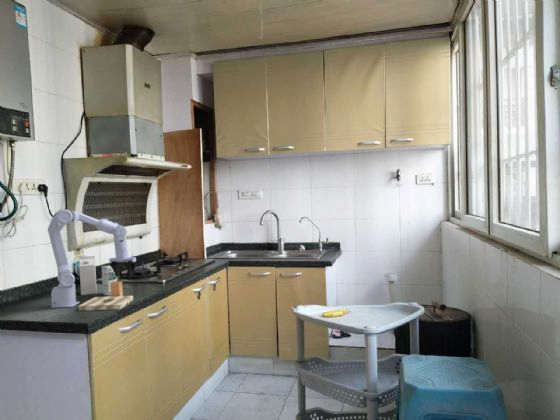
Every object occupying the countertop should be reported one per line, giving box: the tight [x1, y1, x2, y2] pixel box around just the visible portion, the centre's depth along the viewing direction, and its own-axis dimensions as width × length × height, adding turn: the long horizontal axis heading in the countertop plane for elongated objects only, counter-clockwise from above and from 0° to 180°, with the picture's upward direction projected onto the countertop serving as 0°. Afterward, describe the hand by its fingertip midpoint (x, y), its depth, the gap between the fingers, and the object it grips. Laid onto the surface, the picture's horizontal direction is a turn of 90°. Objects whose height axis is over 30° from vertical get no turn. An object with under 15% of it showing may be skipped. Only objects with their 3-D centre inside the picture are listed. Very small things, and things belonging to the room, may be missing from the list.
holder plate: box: [78, 295, 134, 312], centre depth 187 cm, size 18×16×2 cm
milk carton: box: [79, 255, 97, 296], centre depth 212 cm, size 7×7×19 cm
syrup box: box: [101, 264, 119, 297], centre depth 209 cm, size 6×6×14 cm
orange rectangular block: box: [110, 280, 124, 296], centre depth 199 cm, size 4×4×8 cm
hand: (124, 276), depth 202 cm, fingers open, 7 cm apart
